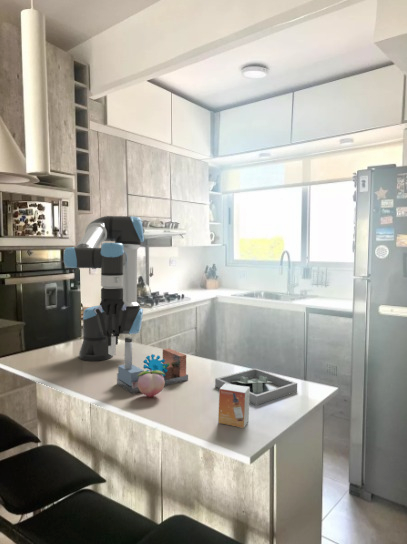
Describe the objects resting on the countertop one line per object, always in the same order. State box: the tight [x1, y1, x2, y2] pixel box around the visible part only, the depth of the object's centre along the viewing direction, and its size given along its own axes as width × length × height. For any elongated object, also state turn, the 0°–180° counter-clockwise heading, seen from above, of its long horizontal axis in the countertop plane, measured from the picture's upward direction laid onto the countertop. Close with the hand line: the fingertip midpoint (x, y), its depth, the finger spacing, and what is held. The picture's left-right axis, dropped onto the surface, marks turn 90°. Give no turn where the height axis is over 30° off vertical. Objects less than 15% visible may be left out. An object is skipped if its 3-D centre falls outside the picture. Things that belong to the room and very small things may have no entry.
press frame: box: [116, 347, 189, 395], centre depth 149 cm, size 12×24×10 cm, turn 129°
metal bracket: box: [231, 376, 273, 394], centre depth 147 cm, size 14×6×15 cm
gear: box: [143, 353, 170, 377], centre depth 151 cm, size 11×6×10 cm
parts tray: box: [214, 368, 298, 406], centre depth 144 cm, size 21×21×3 cm
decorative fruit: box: [137, 368, 165, 398], centre depth 134 cm, size 9×8×10 cm
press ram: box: [117, 336, 145, 387], centre depth 143 cm, size 10×5×16 cm, turn 39°
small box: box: [217, 383, 251, 429], centre depth 116 cm, size 8×6×10 cm
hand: (112, 354), depth 138 cm, fingers closed
